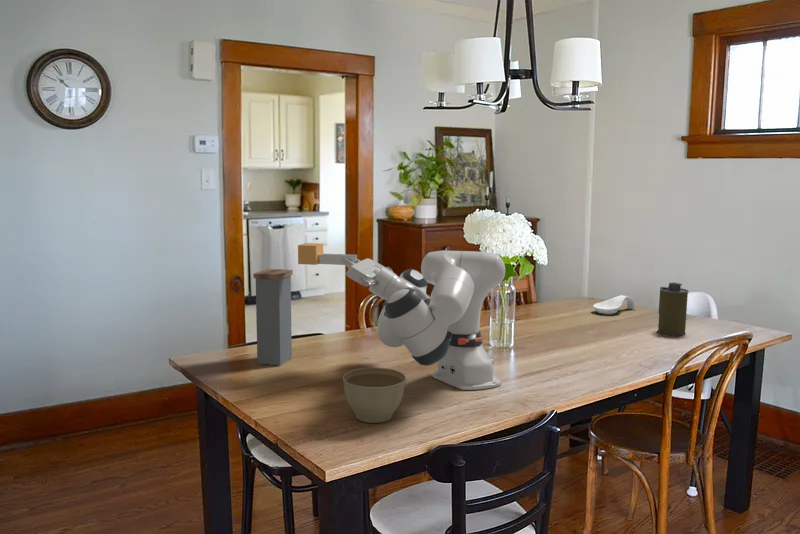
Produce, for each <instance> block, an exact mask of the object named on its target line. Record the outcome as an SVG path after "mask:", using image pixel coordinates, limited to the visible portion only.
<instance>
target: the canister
mask: <svg viewBox="0 0 800 534" xmlns="http://www.w3.org/2000/svg"><path fill="white" fill-rule="evenodd" d="M682 285H683V283H679V282H669V283H668V286H661V287H660V288H659V304H658V314H659V315H658V326H657V327H658V328H657V332H658V333H659V334H662V335H665V336H677V337H678V336H684V335H686V333H687V332H686V325H687V309H688V297H689V296H688V295H689V294H688V293H689V289H686V288H681V286H682Z"/></svg>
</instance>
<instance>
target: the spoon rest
mask: <svg viewBox="0 0 800 534" xmlns="http://www.w3.org/2000/svg"><path fill="white" fill-rule="evenodd" d="M624 300H626V302H627V303H626V305H627V306H626V308H627V309H628V310H633V311H636V309H637V306H636V302H635V301H634V299H633V298H632V297H630V296H628V295H617V296H614V297H613V298H609V299H607V300H603V301H600V302H596V303H593V305H592V308H593V310H595V311H596V313H599V314H601V315H607V316H611V315H615V314H616V313H617V312H619V310H620V309H621V307H622V304H623V303H624Z"/></svg>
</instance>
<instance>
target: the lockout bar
mask: <svg viewBox="0 0 800 534" xmlns="http://www.w3.org/2000/svg"><path fill="white" fill-rule="evenodd" d="M343 257H346V258H348V259H349V260H350V261H351V262H353V263H355V264H356V263H357V259H358V254H349V253H348V254H347V253H346V254H344V253H343V254H342V253H324V243H317V242H316V243H314V242H312V243H310V242H304V243H302V244H298V245H297V263H298V265H311V266H312V265H314V266H315V265H316V266H317V265H333V266H335V265H339V266H346V265H345V264H343V263H342V262H341V260H342V258H343Z"/></svg>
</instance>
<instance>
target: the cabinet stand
mask: <svg viewBox="0 0 800 534" xmlns="http://www.w3.org/2000/svg"><path fill="white" fill-rule="evenodd" d="M293 271H294V270H293V269H279V268H266V269H263V270H260V271H257V272H255V273H254V272H253V274H252V275H253V279H255V305H256V306H255V308H256V309H255V311H256V312H255V313H256V314H255V316H256V318H255V319H256V356H257V357H256V363H257V365H261V364H269V365H268V366H274V365H281V364H282V365H284V364H285V363H286V362H285V361H287V360H288V359H289V360H291V359H292V358H291V357H293V356H292V355H293V351H292V350H293V349H292V345H293V343H292V342H293V341H292V286H291V285H292V281H291V280H292V279H291V276H292V275H293ZM290 358H291V359H290ZM289 360H288V361H289ZM288 361H287V362H288ZM284 362H285V363H284ZM283 363H284V364H283ZM282 365H281V366H282Z"/></svg>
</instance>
